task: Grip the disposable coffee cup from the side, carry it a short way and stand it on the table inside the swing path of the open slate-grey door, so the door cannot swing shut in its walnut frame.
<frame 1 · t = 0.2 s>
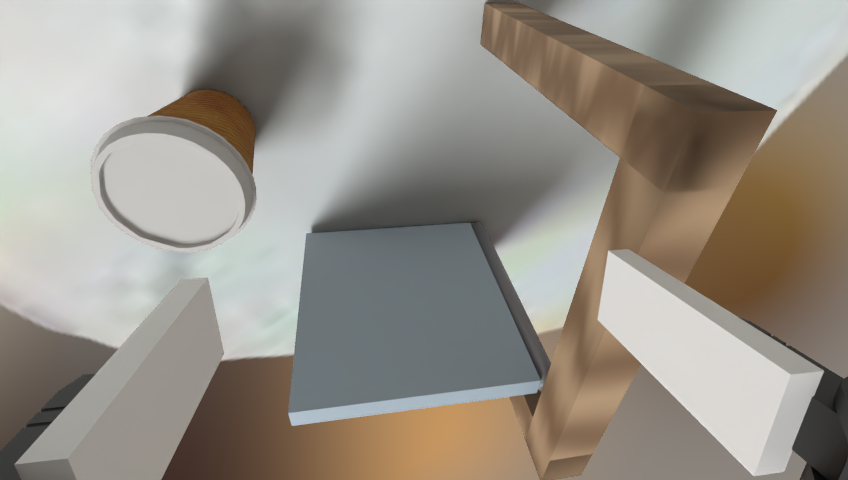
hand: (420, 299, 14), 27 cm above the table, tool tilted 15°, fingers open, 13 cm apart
disposable coffee cup: (216, 125, 36), on the table
door frame: (483, 153, 41), on the table
door: (411, 306, 37), point 11 cm above the table, hinge at 90.0°
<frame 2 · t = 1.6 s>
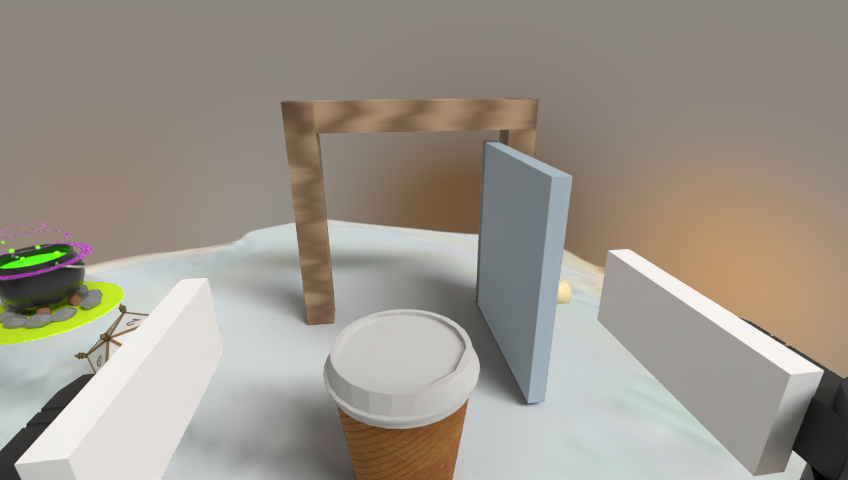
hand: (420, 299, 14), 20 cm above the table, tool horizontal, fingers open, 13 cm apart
game die: (153, 390, 39), on the table
door frame: (415, 310, 52), on the table
door: (518, 254, 42), point 11 cm above the table, hinge at 90.0°
toy cauldron: (53, 312, 53), on the table
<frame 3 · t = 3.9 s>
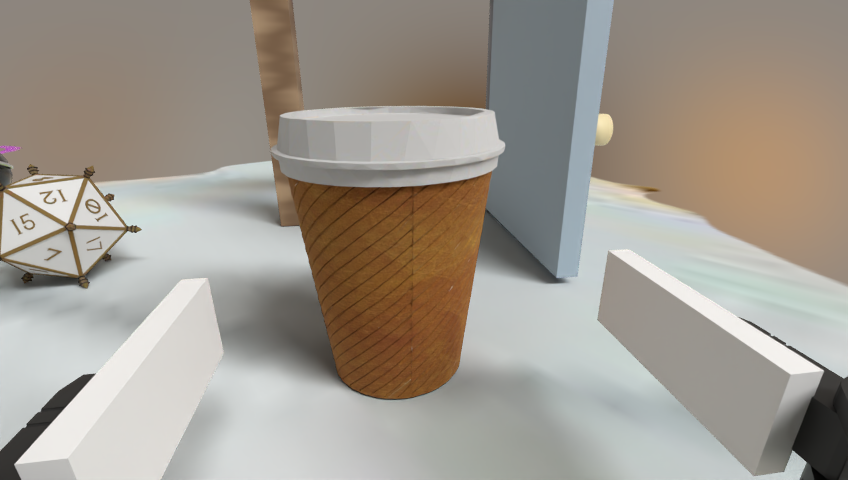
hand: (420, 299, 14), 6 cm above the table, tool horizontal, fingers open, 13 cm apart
disposable coffee cup: (398, 359, 22), on the table
game die: (76, 279, 31), on the table
door frame: (411, 214, 44), on the table
door: (537, 113, 34), point 11 cm above the table, hinge at 90.0°
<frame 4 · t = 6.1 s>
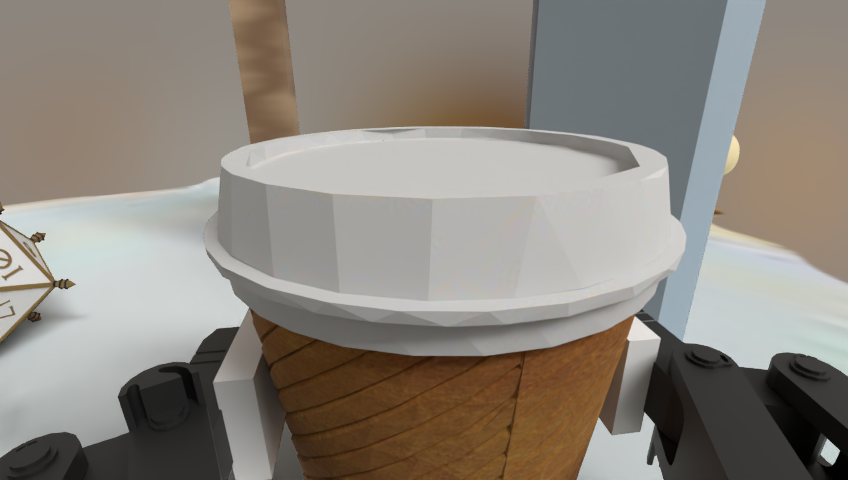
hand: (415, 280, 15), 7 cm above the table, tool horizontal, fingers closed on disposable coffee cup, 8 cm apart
door frame: (430, 247, 36), on the table
door: (605, 126, 25), point 11 cm above the table, hinge at 90.0°
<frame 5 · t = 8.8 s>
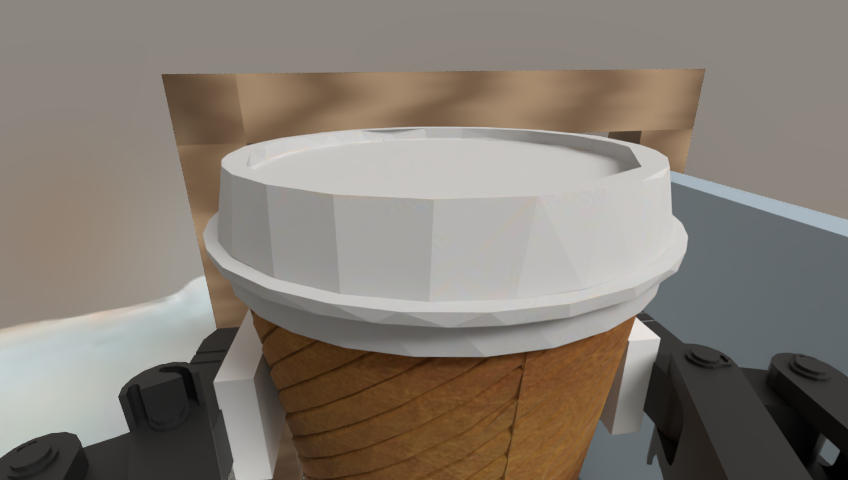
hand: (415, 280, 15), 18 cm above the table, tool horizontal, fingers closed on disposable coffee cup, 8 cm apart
door frame: (447, 448, 30), on the table
door: (685, 397, 20), point 11 cm above the table, hinge at 90.0°
when the fingers open (7 cm above the table, at t = 11.9 s): disposable coffee cup moves 2 cm, on the table.
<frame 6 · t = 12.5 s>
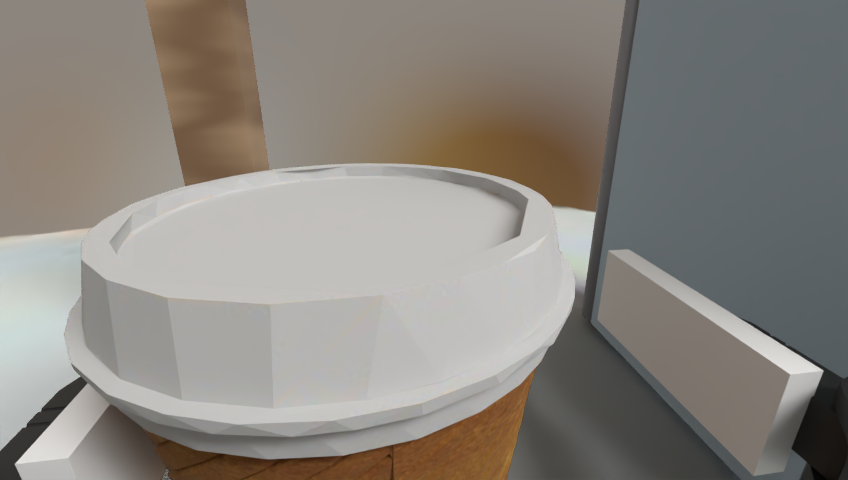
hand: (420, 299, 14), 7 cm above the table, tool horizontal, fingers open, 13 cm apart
door frame: (461, 335, 25), on the table
door: (789, 190, 15), point 11 cm above the table, hinge at 90.0°
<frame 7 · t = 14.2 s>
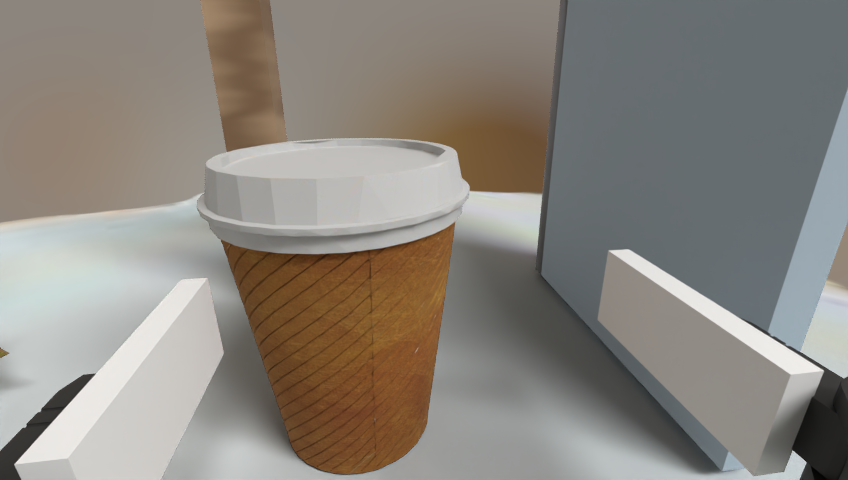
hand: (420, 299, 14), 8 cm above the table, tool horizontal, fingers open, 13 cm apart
disposable coffee cup: (360, 419, 19), on the table
door frame: (438, 284, 32), on the table
door: (652, 158, 21), point 11 cm above the table, hinge at 90.0°
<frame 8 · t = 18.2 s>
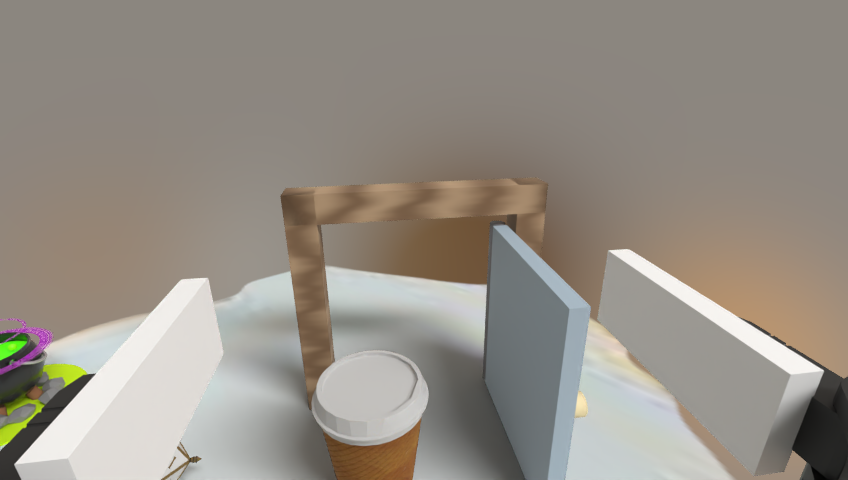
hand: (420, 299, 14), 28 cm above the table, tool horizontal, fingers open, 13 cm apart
door frame: (421, 388, 51), on the table
door: (529, 349, 40), point 11 cm above the table, hinge at 90.0°
toy cauldron: (9, 407, 49), on the table
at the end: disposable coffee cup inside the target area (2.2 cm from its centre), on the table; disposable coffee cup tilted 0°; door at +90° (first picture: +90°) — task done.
